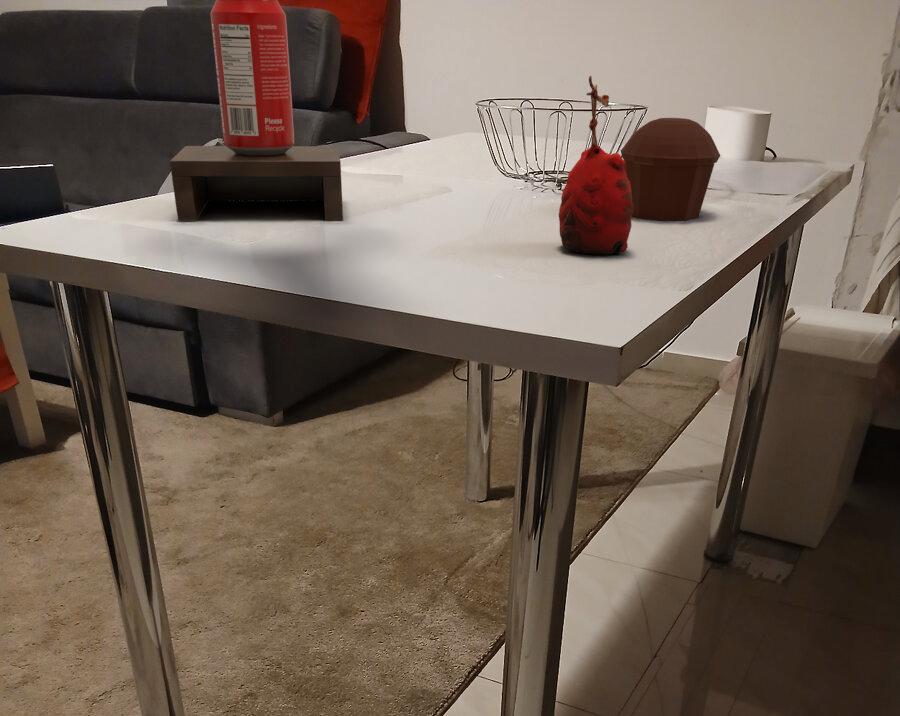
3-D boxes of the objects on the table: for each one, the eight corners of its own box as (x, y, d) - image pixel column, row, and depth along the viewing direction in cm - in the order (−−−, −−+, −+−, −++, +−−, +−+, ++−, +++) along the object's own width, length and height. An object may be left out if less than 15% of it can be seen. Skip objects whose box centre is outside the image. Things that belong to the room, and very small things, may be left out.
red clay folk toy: (644, 253, 88) (666, 76, 80) (594, 261, 85) (612, 77, 77) (588, 239, 93) (604, 72, 85) (539, 247, 90) (550, 73, 82)
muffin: (692, 226, 101) (707, 125, 95) (600, 216, 105) (609, 119, 100) (721, 211, 109) (736, 118, 104) (634, 202, 114) (645, 113, 109)
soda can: (227, 157, 98) (210, -9, 90) (222, 149, 104) (205, -7, 96) (299, 156, 100) (289, -7, 92) (290, 148, 106) (279, -5, 98)
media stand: (177, 221, 98) (169, 160, 95) (192, 200, 110) (185, 145, 107) (343, 220, 100) (340, 161, 97) (339, 199, 112) (337, 146, 109)
